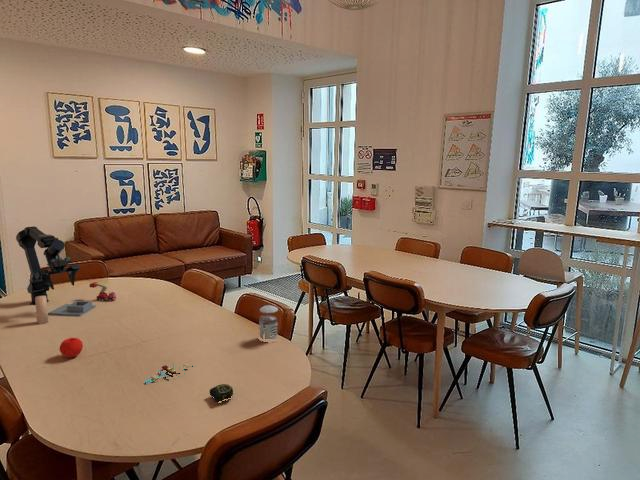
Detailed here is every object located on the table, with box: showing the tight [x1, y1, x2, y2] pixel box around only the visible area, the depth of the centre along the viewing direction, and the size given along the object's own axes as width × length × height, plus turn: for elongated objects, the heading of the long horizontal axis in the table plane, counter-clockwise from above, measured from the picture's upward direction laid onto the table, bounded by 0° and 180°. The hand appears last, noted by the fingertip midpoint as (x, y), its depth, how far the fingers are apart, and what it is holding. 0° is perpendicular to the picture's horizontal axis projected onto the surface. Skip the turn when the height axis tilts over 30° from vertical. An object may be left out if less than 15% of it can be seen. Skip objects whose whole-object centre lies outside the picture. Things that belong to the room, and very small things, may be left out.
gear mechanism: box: [144, 362, 192, 384], centre depth 158 cm, size 20×5×9 cm
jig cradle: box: [48, 300, 96, 317], centre depth 219 cm, size 16×14×4 cm
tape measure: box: [209, 383, 234, 403], centre depth 143 cm, size 7×7×4 cm
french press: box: [258, 284, 279, 339], centre depth 190 cm, size 10×12×25 cm
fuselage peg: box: [35, 296, 49, 325], centre depth 202 cm, size 4×4×12 cm
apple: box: [58, 337, 84, 358], centre depth 169 cm, size 8×8×7 cm
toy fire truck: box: [89, 281, 117, 302], centre depth 237 cm, size 3×14×10 cm, turn 84°
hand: (63, 287), depth 211 cm, fingers open, 9 cm apart
